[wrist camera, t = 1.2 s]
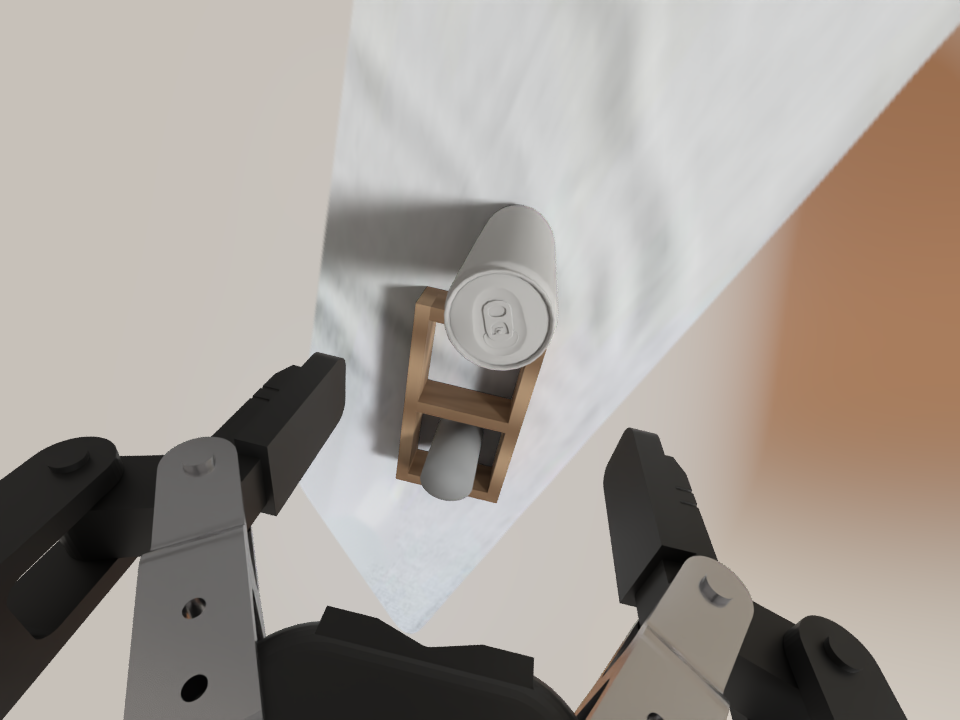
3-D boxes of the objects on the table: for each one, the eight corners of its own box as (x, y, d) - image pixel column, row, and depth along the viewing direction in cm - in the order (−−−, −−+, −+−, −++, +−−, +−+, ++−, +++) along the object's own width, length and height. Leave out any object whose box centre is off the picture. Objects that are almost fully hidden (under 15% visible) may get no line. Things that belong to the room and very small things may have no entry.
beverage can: (486, 280, 29) (451, 376, 18) (475, 208, 26) (429, 271, 16) (556, 274, 28) (561, 371, 17) (552, 198, 25) (555, 259, 15)
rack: (427, 286, 29) (415, 303, 27) (550, 315, 29) (550, 335, 27) (405, 454, 38) (395, 478, 36) (499, 477, 38) (496, 503, 36)
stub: (441, 406, 35) (423, 457, 30) (487, 418, 35) (477, 470, 30) (435, 440, 37) (417, 493, 32) (478, 451, 37) (467, 506, 32)
